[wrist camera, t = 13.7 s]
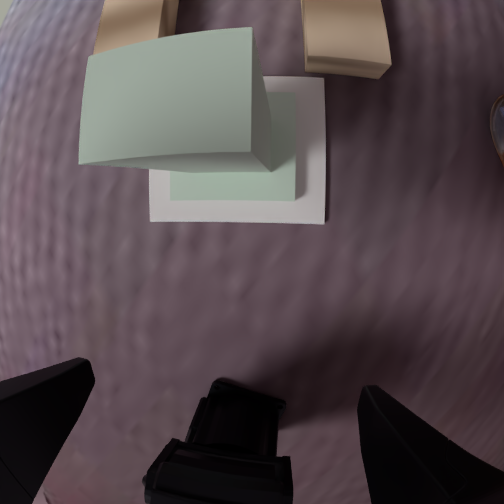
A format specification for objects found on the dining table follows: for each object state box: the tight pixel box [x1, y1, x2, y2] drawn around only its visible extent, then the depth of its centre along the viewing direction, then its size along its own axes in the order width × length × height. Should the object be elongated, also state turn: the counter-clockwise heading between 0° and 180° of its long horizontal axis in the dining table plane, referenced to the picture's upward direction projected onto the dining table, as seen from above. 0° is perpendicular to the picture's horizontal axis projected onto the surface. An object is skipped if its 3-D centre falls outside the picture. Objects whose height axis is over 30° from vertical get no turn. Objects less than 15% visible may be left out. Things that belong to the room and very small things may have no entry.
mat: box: [149, 76, 326, 224], centre depth 19 cm, size 10×12×1 cm
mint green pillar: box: [79, 27, 296, 202], centre depth 13 cm, size 7×8×12 cm
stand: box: [93, 0, 392, 79], centre depth 15 cm, size 10×20×3 cm, turn 89°
